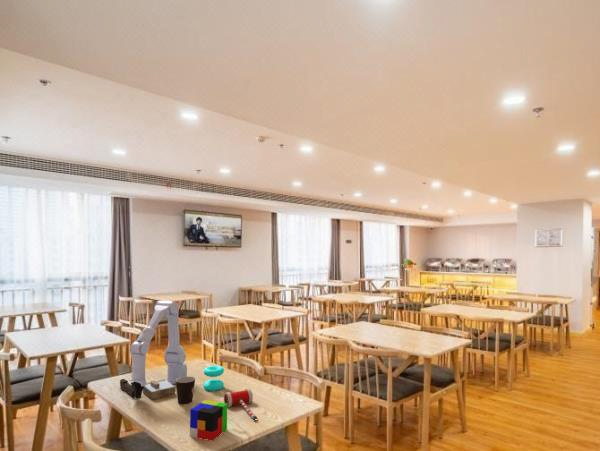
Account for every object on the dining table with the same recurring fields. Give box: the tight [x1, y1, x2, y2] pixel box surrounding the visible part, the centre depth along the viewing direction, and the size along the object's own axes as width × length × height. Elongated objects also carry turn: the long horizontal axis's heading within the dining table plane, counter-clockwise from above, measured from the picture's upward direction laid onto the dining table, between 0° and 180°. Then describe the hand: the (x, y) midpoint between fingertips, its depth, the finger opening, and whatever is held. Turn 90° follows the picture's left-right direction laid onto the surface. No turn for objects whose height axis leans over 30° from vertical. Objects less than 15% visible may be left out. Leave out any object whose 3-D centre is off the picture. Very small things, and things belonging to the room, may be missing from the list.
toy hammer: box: [223, 388, 258, 421], centre depth 175 cm, size 23×12×6 cm, turn 30°
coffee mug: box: [175, 375, 196, 405], centre depth 183 cm, size 12×9×10 cm
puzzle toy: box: [189, 399, 228, 441], centre depth 154 cm, size 10×10×10 cm
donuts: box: [203, 365, 225, 392], centre depth 202 cm, size 10×10×10 cm
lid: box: [144, 379, 175, 393], centre depth 194 cm, size 11×11×3 cm
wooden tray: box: [142, 379, 177, 401], centre depth 194 cm, size 11×13×4 cm
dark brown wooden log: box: [119, 378, 135, 398], centre depth 197 cm, size 19×4×5 cm, turn 42°
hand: (138, 397), depth 186 cm, fingers closed
